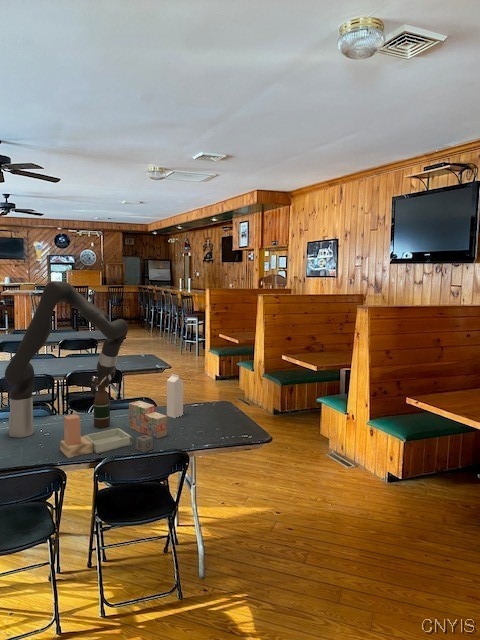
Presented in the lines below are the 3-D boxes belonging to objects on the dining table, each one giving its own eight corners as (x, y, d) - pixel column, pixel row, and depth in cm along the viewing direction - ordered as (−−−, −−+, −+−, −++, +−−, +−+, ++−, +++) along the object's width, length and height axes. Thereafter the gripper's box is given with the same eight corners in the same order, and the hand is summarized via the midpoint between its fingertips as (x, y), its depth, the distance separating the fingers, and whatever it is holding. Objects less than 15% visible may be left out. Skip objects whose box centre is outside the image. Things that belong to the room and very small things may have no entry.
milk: (174, 418, 235) (174, 376, 233) (166, 415, 240) (166, 374, 237) (183, 415, 240) (183, 374, 237) (175, 413, 244) (175, 372, 241)
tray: (96, 453, 189) (96, 445, 189) (83, 443, 200) (83, 435, 200) (132, 444, 199) (132, 436, 199) (118, 435, 210) (118, 427, 210)
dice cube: (145, 446, 198) (145, 434, 198) (153, 449, 195) (153, 437, 194) (136, 449, 194) (135, 438, 194) (143, 452, 191) (143, 440, 191)
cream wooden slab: (68, 458, 184) (68, 448, 184) (60, 450, 192) (60, 440, 192) (92, 452, 190) (92, 442, 190) (84, 444, 198) (83, 435, 198)
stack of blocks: (167, 435, 211) (167, 409, 210) (156, 439, 206) (156, 412, 205) (139, 424, 225) (139, 400, 224) (129, 427, 221) (128, 402, 220)
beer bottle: (105, 429, 218) (104, 379, 215) (90, 427, 220) (89, 378, 217) (113, 423, 226) (112, 375, 223) (98, 422, 227) (97, 374, 225)
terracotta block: (68, 445, 186) (67, 419, 185) (64, 442, 190) (63, 416, 189) (80, 443, 189) (80, 417, 188) (76, 439, 193) (76, 414, 192)
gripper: (111, 351, 206) (103, 379, 212) (89, 362, 193) (81, 392, 200) (124, 359, 204) (116, 388, 211) (103, 371, 191) (95, 401, 198)
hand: (99, 390), depth 205 cm, fingers open, 8 cm apart
